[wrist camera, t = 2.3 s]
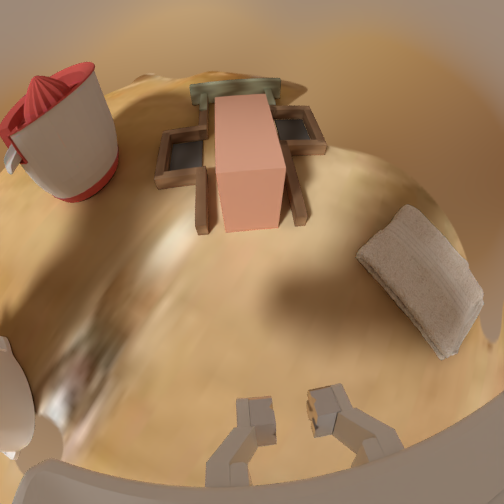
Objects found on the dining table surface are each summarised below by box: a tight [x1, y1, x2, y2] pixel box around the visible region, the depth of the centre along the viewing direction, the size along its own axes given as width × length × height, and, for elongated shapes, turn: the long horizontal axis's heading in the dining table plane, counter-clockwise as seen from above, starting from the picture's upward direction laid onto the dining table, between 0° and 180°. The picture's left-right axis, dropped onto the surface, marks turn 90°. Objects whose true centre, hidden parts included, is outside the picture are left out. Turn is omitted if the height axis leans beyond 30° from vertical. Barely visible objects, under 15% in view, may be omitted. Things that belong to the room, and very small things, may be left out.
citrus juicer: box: [0, 62, 119, 203], centre depth 27 cm, size 16×17×20 cm
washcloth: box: [356, 204, 484, 360], centre depth 27 cm, size 12×18×3 cm, turn 38°
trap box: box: [154, 78, 327, 235], centre depth 36 cm, size 24×29×4 cm
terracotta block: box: [215, 94, 286, 233], centre depth 30 cm, size 6×13×10 cm, turn 6°
